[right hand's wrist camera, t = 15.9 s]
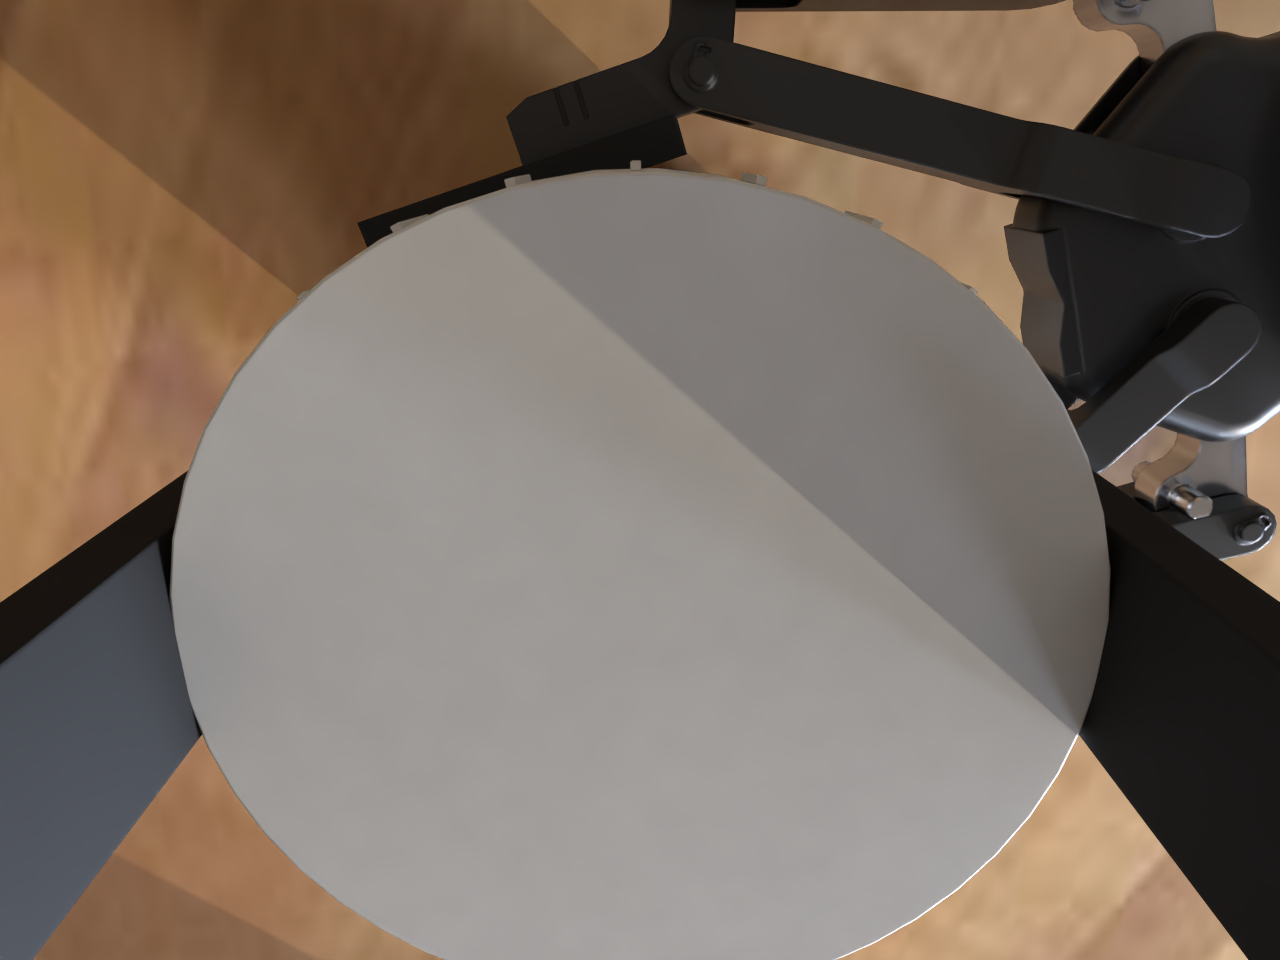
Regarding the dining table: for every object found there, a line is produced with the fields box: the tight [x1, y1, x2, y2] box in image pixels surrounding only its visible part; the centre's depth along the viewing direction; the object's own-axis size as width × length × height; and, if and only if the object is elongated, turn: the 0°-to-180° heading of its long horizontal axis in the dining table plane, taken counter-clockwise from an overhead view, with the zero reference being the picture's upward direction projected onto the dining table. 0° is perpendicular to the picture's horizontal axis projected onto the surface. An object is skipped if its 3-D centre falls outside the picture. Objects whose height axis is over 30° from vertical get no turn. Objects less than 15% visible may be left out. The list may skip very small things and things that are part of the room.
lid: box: [170, 160, 1110, 960], centre depth 11 cm, size 11×11×2 cm
